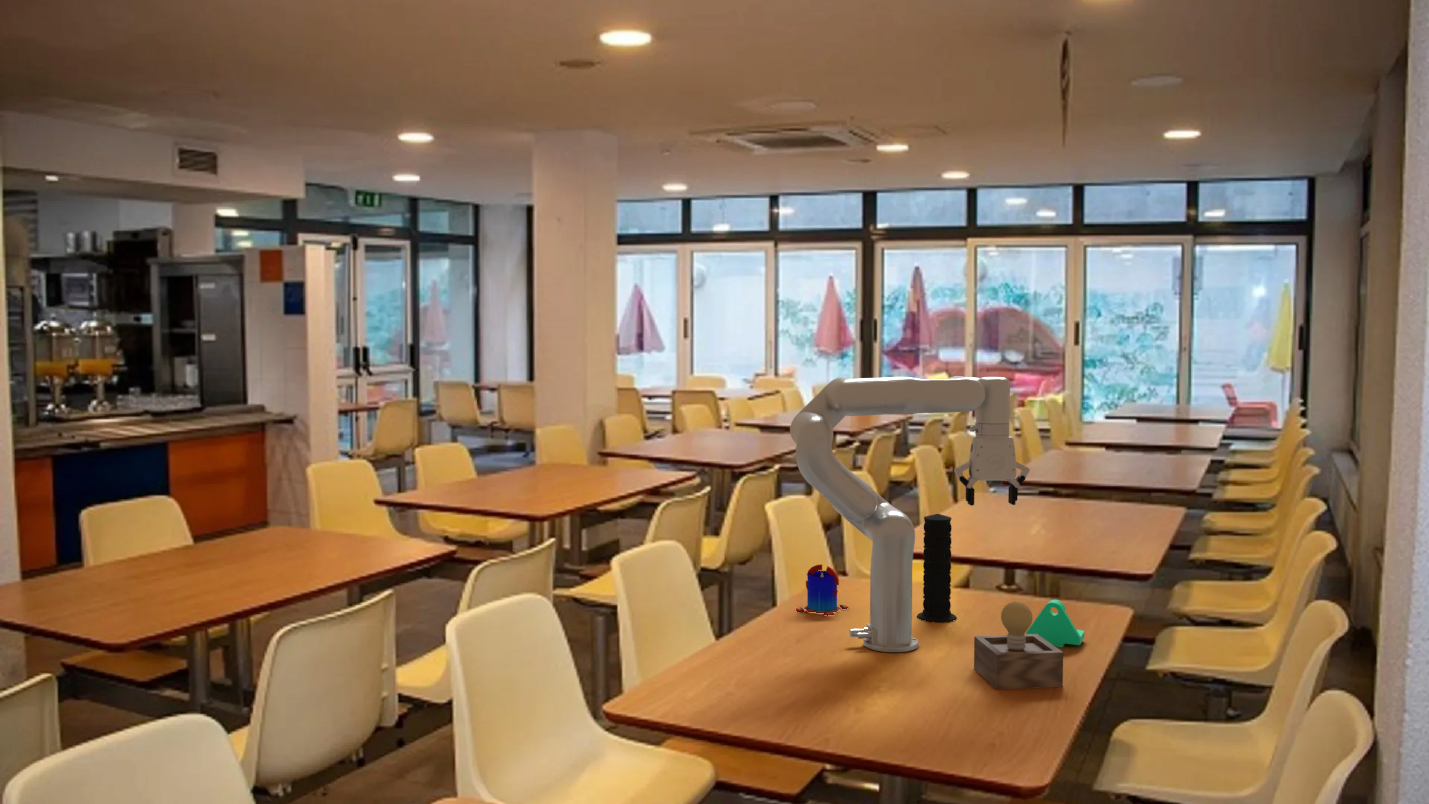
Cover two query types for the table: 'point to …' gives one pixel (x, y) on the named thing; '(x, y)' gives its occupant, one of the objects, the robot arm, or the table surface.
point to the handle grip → (937, 569)
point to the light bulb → (1016, 624)
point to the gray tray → (1018, 662)
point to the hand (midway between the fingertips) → (991, 504)
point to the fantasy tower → (822, 591)
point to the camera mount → (1056, 626)
